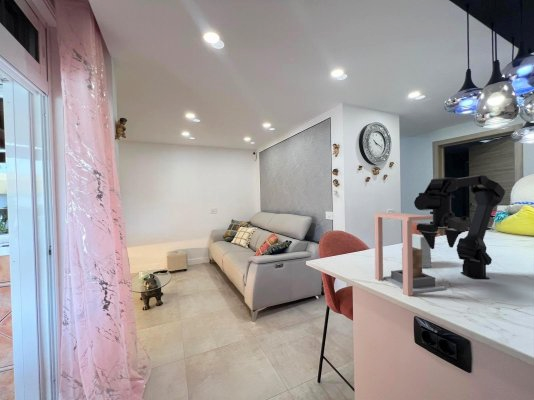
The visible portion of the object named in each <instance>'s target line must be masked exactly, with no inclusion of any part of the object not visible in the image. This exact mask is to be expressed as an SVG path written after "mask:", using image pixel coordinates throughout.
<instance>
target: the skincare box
mask: <svg viewBox="0 0 534 400" xmlns="http://www.w3.org/2000/svg"><path fill="white" fill-rule="evenodd" d="M412 247H414V248H418V249H422V269H424V268H432V257H431V255H432V254H431V248H430V246H429V245H428V243H427V241H426V239H425V238H424V236H423V235H422V234H417V233H412Z"/></svg>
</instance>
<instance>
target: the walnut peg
mask: <svg viewBox="0 0 534 400" xmlns="http://www.w3.org/2000/svg"><path fill="white" fill-rule="evenodd" d="M401 249H402V250H401V251H402V253H401V256H402V258H401V259H402V260H401V261H402V262H401V263H402V264H401V265H402V267H401V270H402V272H403V247H402V248H401ZM412 257H413V278H420V277H422V273H423V268H422V249H418V248H414V247H412Z"/></svg>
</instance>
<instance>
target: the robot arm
mask: <svg viewBox="0 0 534 400" xmlns="http://www.w3.org/2000/svg"><path fill="white" fill-rule="evenodd" d="M465 187H470V192H471V193H472V194H474V197H473V199H474V200H475V204H476V207H475V210H474V213H473V216H472V219H471V217H469V216H461V217H457V216H455V215H456V214H455V212H454V211H452V198H456V195H454V194H453V193H452V192H455V191H457V189H459V188H465ZM505 195H506V191H505V189H504V187H503V186H501V185H500V183H499V182H497V181H494V180H492V179H490V178H489V177H487V176H486V175H484V174H479V175H471V176H465V177H451V176H449V177H439V178H432V179H431V180H430V181H429V183H428V185H427V186H426V188H425V190H424V192H418V196H417V197H415V199H414V201H413V204H414V208H416V209H417V210H418V211H427V210H428V211H429V215H432V216H433V220H430V221H429V223H428V222H427V223H426V222H420V223H419V222H418V223H417V224H416V231H418V232H419V233H421V235H423V236H424V238H425V239H426V241H427V243H428V245H429V246H430V250H431V249H432V250H435V244H436V237H437V235H438V234H439V230H444V234H445V237H446V242H447V244H448V248H451V249H452V248H453V247H454V246H455V243H456V241H457V239H458V237H459V235H460V234H463V233H465V232H466V231H468V232H467V235H466V236H465V237H460V238H459V239H458V242H457V244H456V253H457V256H458V259H459V260H462V262H463V263H462V266H461V267H462V271H460V274H461V275H464V276H466V277H468V278H471V279H473V280H475V279H476V280H479V279H480V280H489V279H490V277H489V276H487V266H489V265H491V264H492V261H493V258H492V257H491V256H490V255H489V254H488V253H487V246H486V243H485V241H484V239H485V235H486V232H487V230H488V226H489V222H490V219H491V217H492V216H491V215H492V213H493V209H494V208H495V207H497V205H499V204H500V203H501V202H502V200H503V199H504V196H505ZM430 210H431V211H430ZM468 227H469V228H468Z"/></svg>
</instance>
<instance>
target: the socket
mask: <svg viewBox="0 0 534 400" xmlns="http://www.w3.org/2000/svg"><path fill="white" fill-rule="evenodd" d="M383 280H385V281H386V282H389V283H391V284H393V285H395V286H397V287H398V288H400V289H402V290H403V272H402V269H398V270H397V269H396V270H391V271H390V276H383ZM444 290H446V287H445V286H444V285H440V284H438V283H436V277H434V276H431V275H430V274H426V273H424V272H422V277H420V278H413V295H414V294H422V293H431V292H437V291H444Z"/></svg>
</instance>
